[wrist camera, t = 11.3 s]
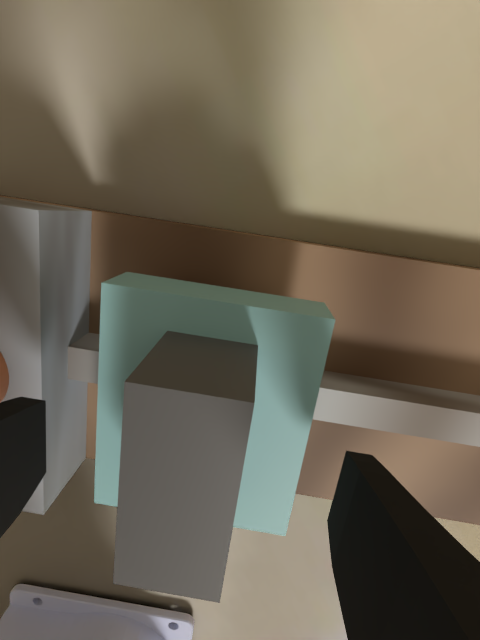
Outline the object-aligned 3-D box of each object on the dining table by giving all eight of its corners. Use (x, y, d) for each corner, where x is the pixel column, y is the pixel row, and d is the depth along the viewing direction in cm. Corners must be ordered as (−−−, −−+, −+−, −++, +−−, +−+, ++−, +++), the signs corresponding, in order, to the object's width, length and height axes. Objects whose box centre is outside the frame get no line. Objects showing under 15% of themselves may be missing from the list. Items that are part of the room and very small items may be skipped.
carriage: (116, 464, 13) (35, 601, 8) (127, 271, 11) (27, 313, 6) (282, 492, 13) (291, 648, 8) (324, 302, 11) (367, 369, 6)
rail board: (-24, 423, 16) (-113, 487, 12) (-42, 188, 13) (-165, 179, 10) (658, 538, 16) (787, 644, 12) (795, 316, 13) (1024, 361, 9)
